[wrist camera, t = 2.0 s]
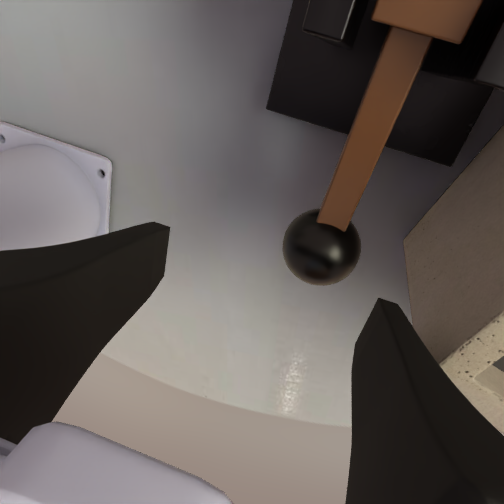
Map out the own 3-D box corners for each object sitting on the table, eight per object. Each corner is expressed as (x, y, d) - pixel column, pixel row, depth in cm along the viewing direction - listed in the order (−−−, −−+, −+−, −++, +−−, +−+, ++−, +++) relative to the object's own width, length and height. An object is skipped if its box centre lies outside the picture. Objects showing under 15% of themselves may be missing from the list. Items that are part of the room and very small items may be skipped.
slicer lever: (347, 264, 16) (340, 312, 14) (283, 242, 17) (266, 284, 14) (527, -97, 9) (574, -121, 7) (404, -125, 9) (408, -158, 7)
